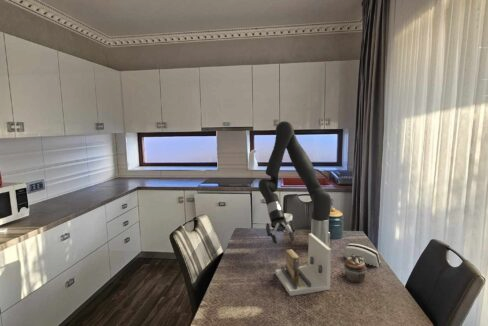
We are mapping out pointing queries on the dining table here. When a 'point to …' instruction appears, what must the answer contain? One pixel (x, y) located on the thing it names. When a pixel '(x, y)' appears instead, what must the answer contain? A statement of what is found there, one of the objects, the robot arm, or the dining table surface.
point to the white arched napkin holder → (363, 253)
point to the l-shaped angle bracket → (310, 270)
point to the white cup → (288, 218)
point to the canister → (335, 224)
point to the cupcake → (355, 268)
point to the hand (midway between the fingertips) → (284, 242)
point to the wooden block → (292, 264)
